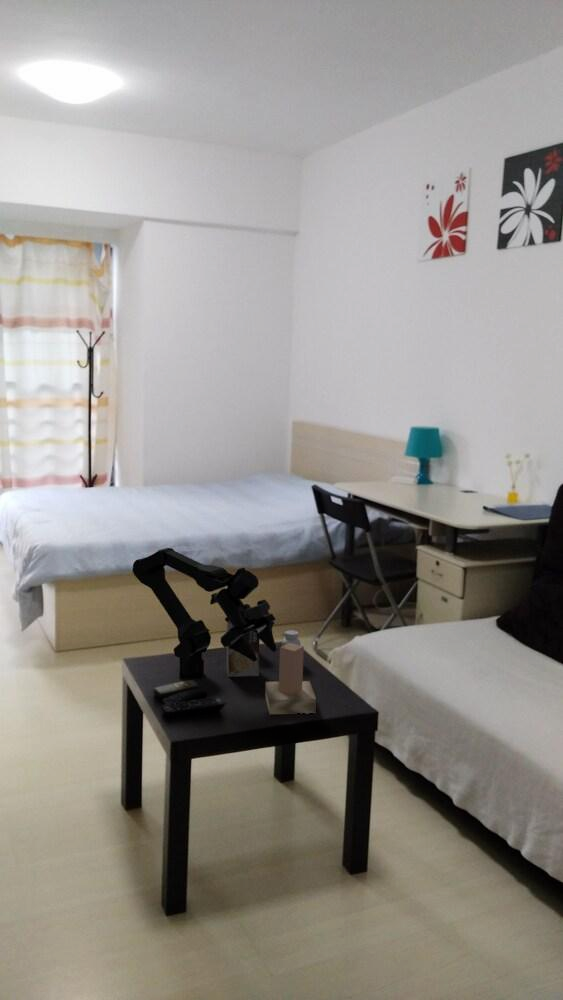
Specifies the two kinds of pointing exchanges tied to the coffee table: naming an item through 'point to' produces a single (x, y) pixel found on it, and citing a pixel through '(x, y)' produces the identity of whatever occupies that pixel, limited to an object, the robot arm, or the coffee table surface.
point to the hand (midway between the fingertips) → (265, 655)
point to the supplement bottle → (291, 638)
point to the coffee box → (243, 658)
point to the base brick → (290, 699)
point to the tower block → (291, 668)
